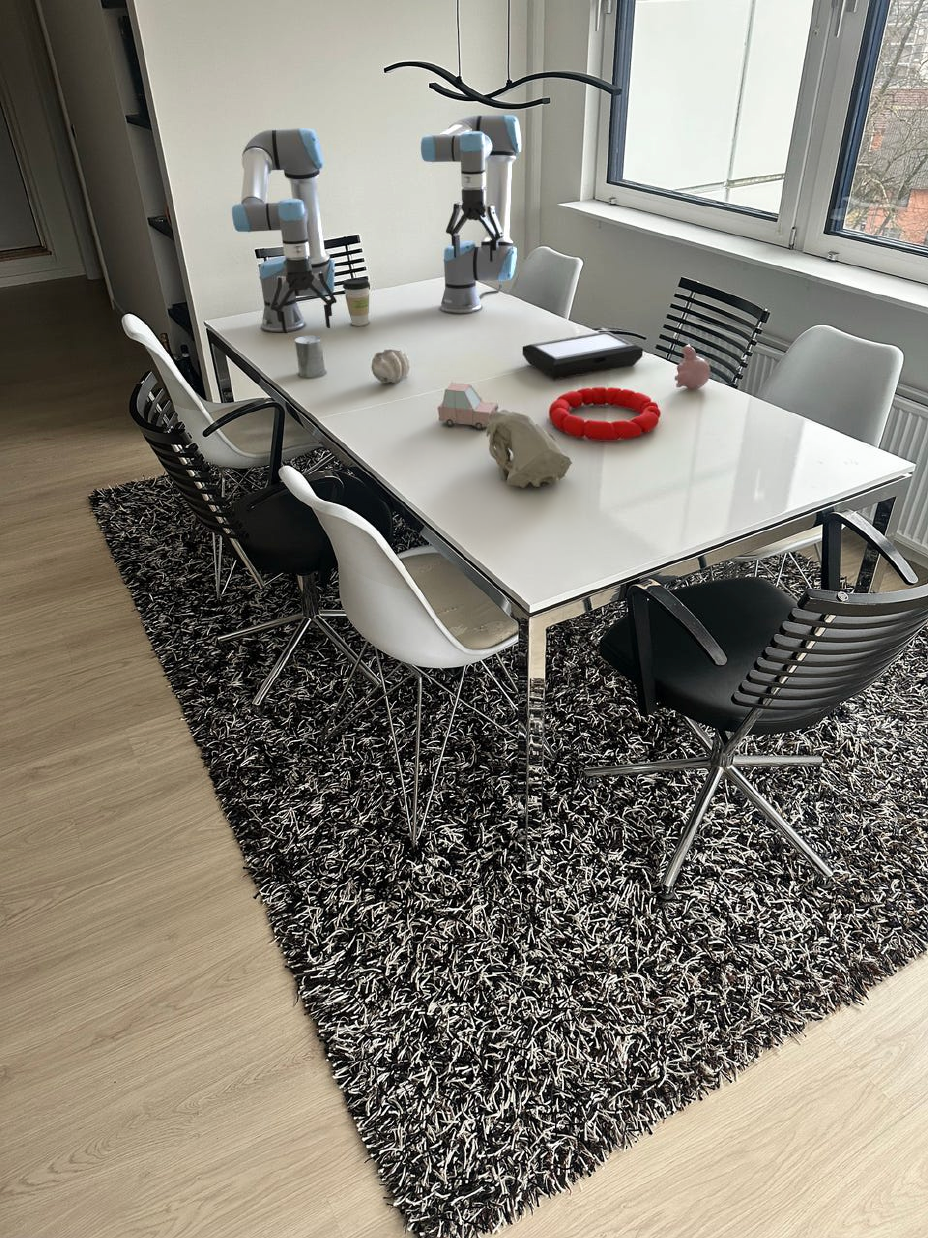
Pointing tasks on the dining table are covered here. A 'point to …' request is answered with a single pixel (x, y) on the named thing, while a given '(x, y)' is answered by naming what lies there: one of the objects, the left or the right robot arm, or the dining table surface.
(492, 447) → the animal skull
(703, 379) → the figurine
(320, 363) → the canister
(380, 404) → the dining table surface
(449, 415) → the toy car
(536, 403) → the dining table surface
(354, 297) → the coffee cup
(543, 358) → the electronic device
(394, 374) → the seashell
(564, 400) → the decorative ring
